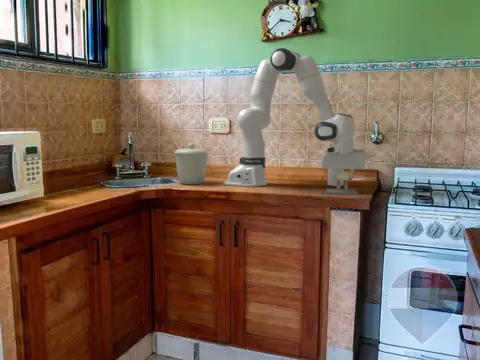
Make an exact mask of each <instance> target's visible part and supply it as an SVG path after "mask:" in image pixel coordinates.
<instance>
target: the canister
mask: <svg viewBox="0 0 480 360" xmlns="http://www.w3.org/2000/svg"><path fill="white" fill-rule="evenodd" d="M173 154H174V156H175V157H174V158H175V163H176V172H177V173H176V174H177V180H178V182H179V183H180V184H183V185H191V186H192V185H194V186H195V185H201V184H203V183H204V182H205V180H206V172H207V167H208V166H207V165H208V155H209V154H210V151H208V150H207V149H205V148H204V149H203V148H197V147H196V144H195V143H193V142H189V143H188V144H187V148H178V149H176V150H175V151H173Z"/></svg>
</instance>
